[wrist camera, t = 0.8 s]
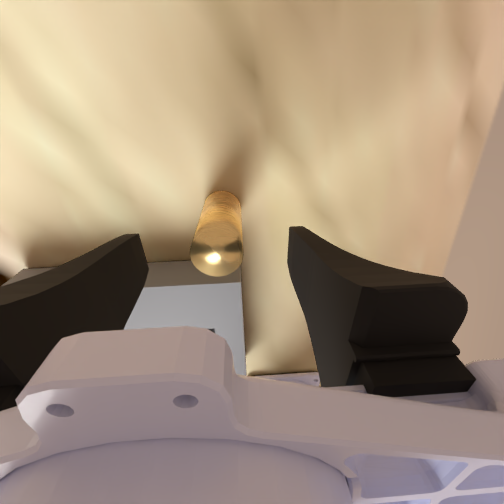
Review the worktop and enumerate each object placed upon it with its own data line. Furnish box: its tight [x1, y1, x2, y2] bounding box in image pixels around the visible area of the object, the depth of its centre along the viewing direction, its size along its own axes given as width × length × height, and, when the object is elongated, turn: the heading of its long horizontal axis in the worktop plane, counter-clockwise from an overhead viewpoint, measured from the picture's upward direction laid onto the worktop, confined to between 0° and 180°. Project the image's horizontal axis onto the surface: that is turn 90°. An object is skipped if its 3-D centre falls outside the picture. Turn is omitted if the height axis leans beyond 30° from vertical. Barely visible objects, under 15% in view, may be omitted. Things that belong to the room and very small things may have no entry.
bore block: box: [2, 261, 246, 376], centre depth 20 cm, size 12×16×3 cm
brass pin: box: [190, 191, 243, 276], centre depth 14 cm, size 2×2×6 cm
